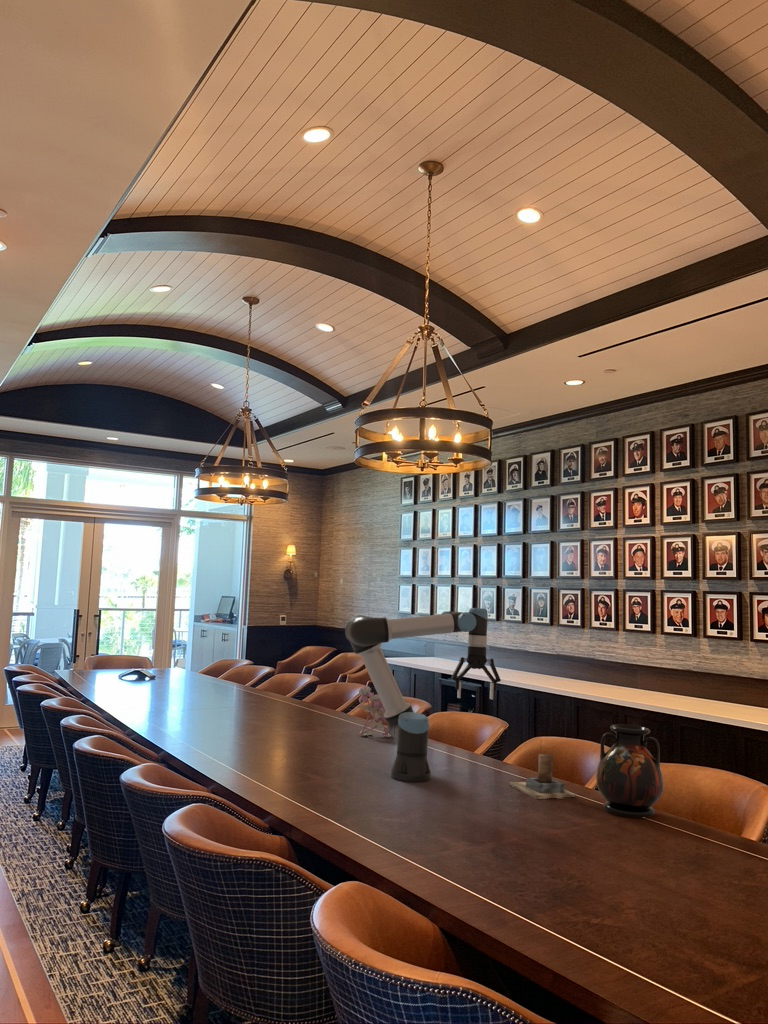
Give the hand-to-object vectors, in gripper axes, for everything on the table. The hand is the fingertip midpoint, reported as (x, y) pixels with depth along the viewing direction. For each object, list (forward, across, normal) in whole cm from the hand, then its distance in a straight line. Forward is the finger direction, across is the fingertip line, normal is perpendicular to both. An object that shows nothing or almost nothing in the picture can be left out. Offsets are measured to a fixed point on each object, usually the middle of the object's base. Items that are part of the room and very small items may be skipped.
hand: (475, 698), depth 316 cm
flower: (+29, +28, -76) cm, 86 cm away
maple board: (+29, -18, +32) cm, 47 cm away
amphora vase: (+29, -39, +59) cm, 77 cm away
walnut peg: (+28, -18, +34) cm, 48 cm away
